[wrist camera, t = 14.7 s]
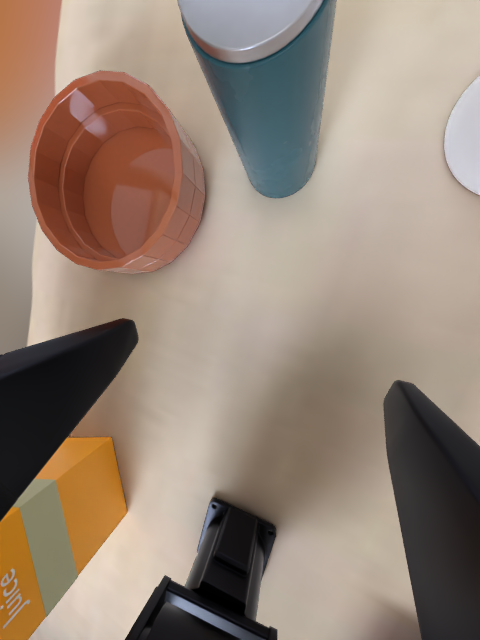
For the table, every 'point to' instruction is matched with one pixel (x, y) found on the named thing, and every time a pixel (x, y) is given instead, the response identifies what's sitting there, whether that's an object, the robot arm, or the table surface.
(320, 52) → the can
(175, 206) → the pot
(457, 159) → the mug
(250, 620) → the robot arm
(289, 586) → the table surface
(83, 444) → the orange juice
